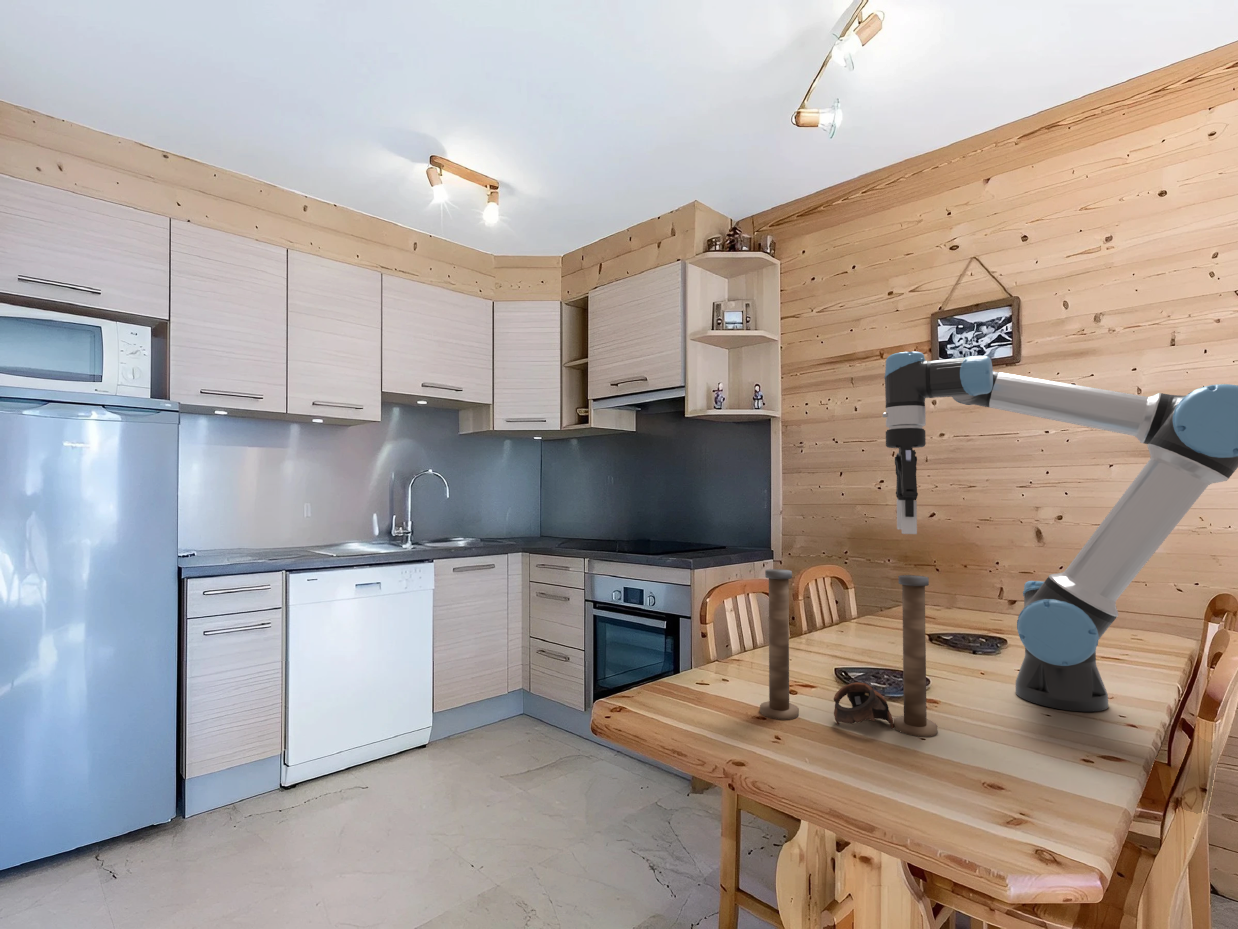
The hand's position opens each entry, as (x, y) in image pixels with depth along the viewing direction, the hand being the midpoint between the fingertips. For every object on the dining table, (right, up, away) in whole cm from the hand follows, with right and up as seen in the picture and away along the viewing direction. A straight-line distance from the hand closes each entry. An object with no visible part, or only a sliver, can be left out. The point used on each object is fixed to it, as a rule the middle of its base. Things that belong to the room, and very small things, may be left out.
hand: (906, 531), depth 133 cm
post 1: (-29, -32, -13) cm, 45 cm away
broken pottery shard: (-16, -32, -18) cm, 40 cm away
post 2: (-8, -32, -21) cm, 39 cm away
